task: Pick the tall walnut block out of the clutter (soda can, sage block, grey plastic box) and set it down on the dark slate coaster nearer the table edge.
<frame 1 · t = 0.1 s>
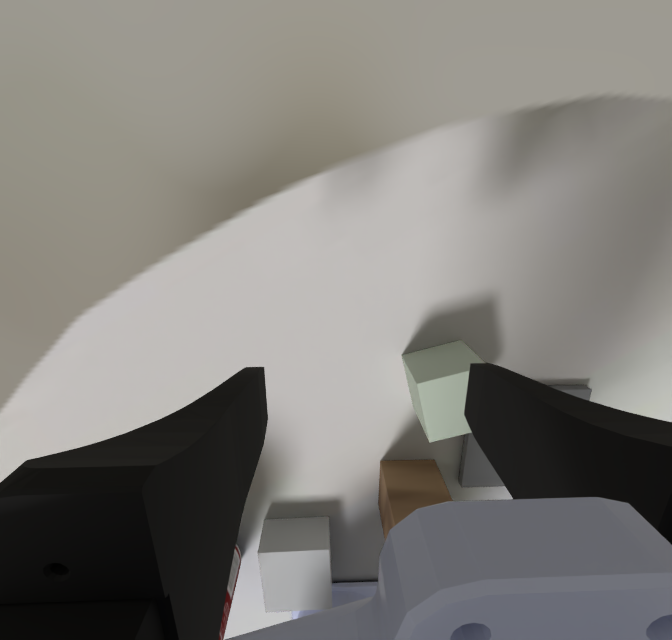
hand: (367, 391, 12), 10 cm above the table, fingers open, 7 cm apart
slate coaster: (519, 435, 25), on the table
grey plastic box: (299, 543, 28), on the table
soda can: (201, 546, 27), on the table
walnut block: (405, 481, 26), on the table
sage block: (435, 373, 23), on the table
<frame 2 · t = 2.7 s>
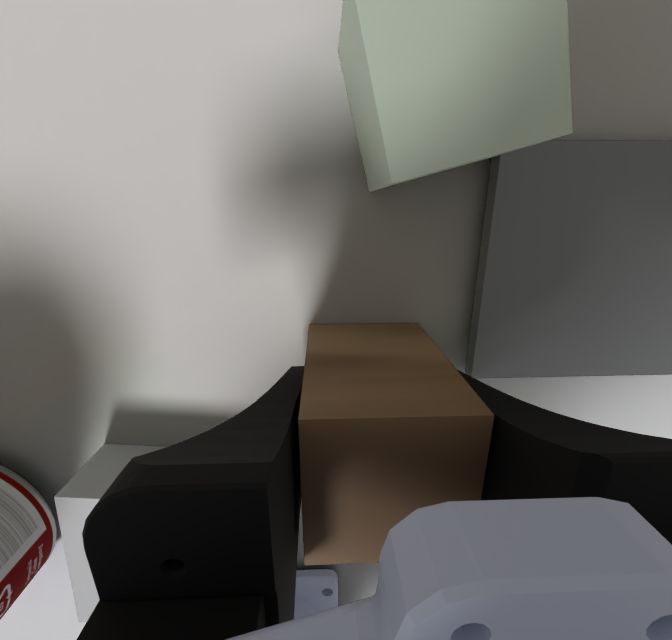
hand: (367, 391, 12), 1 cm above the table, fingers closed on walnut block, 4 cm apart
slate coaster: (587, 267, 12), on the table
grey plastic box: (174, 499, 15), on the table
walnut block: (362, 372, 13), on the table, touching gripper
sage block: (416, 108, 11), on the table
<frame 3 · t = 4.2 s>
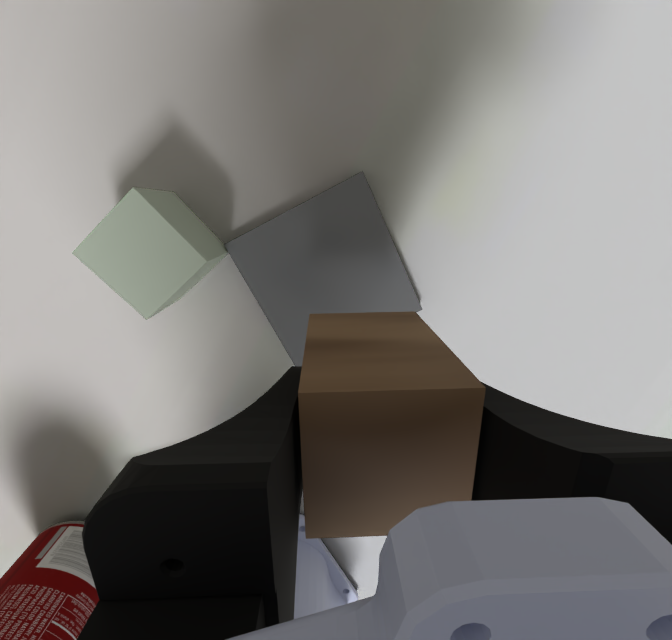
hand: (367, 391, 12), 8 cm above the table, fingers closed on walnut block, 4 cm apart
slate coaster: (326, 276, 19), on the table
soda can: (92, 546, 25), on the table
walnut block: (361, 361, 14), point 7 cm above the table, touching gripper
sage block: (177, 247, 19), on the table
when the fingers open (3 cm above the table, at t = 5.9 s): walnut block stays where it is, resting on slate coaster.
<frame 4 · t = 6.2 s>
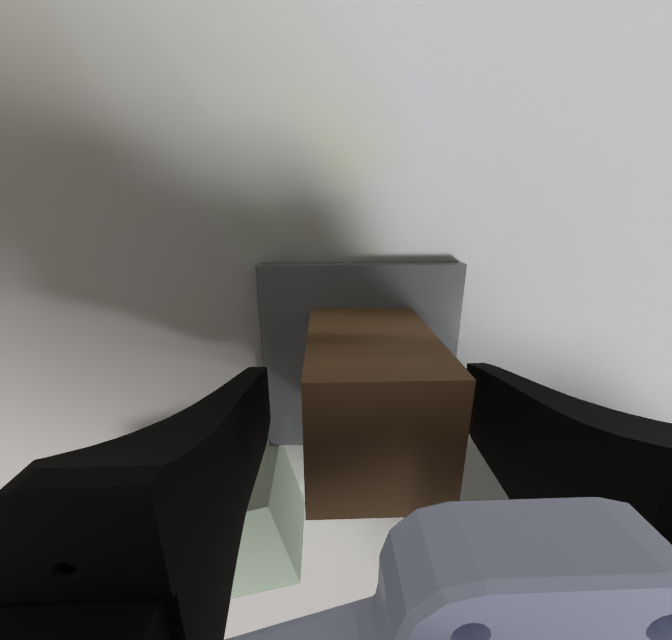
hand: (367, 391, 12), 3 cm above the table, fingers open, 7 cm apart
slate coaster: (358, 355, 15), on the table
walnut block: (360, 355, 14), point 1 cm above the table, touching slate coaster
sage block: (254, 478, 17), on the table
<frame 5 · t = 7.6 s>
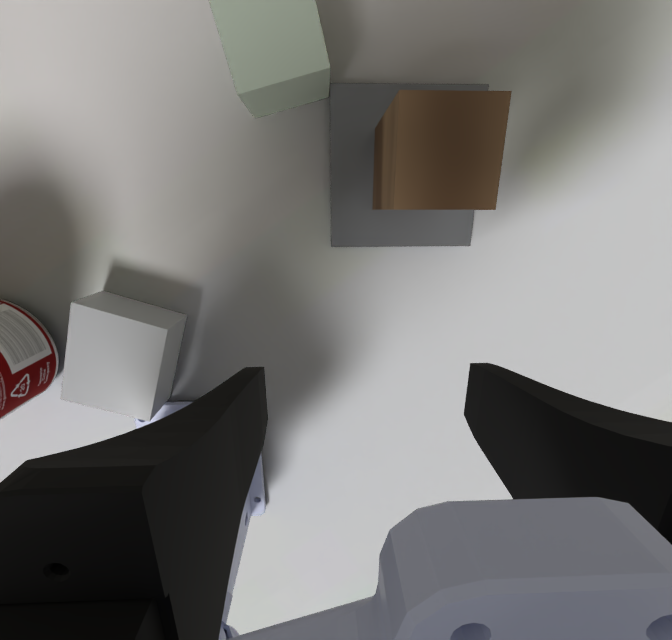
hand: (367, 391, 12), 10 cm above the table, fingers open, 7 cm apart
slate coaster: (402, 171, 19), on the table
grey plastic box: (140, 345, 22), on the table
soda can: (12, 345, 21), on the table
walnut block: (410, 170, 18), point 1 cm above the table, touching slate coaster
sage block: (280, 64, 17), on the table
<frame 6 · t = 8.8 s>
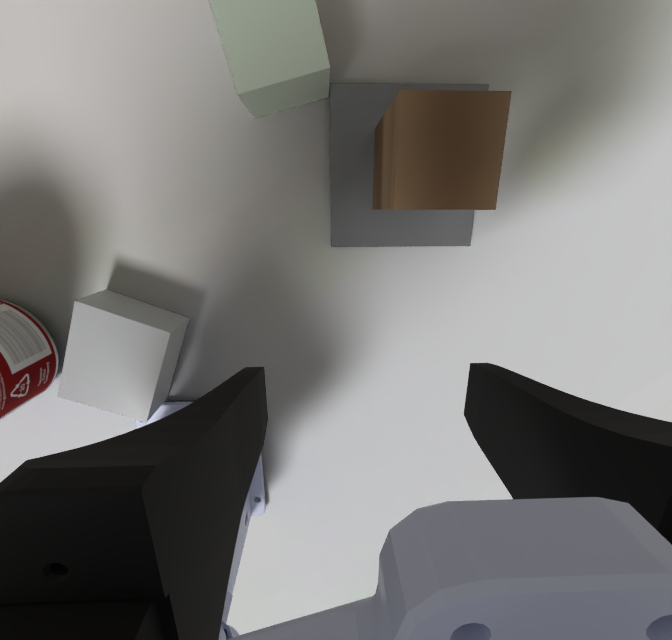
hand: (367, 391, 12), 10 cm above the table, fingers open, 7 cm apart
slate coaster: (402, 171, 19), on the table
grey plastic box: (140, 345, 22), on the table
soda can: (12, 345, 21), on the table
walnut block: (410, 170, 18), point 1 cm above the table, touching slate coaster
sage block: (280, 64, 17), on the table
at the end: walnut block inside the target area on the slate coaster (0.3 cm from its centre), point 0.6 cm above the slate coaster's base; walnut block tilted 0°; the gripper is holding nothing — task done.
